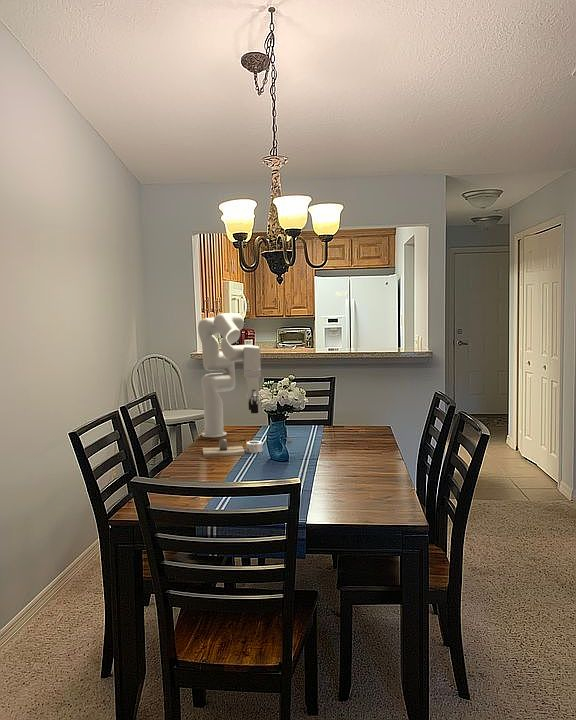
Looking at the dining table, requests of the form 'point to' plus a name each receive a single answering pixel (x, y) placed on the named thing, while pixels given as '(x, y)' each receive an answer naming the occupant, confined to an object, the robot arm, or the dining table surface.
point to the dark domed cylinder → (223, 444)
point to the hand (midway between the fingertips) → (253, 411)
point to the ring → (254, 446)
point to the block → (217, 452)
